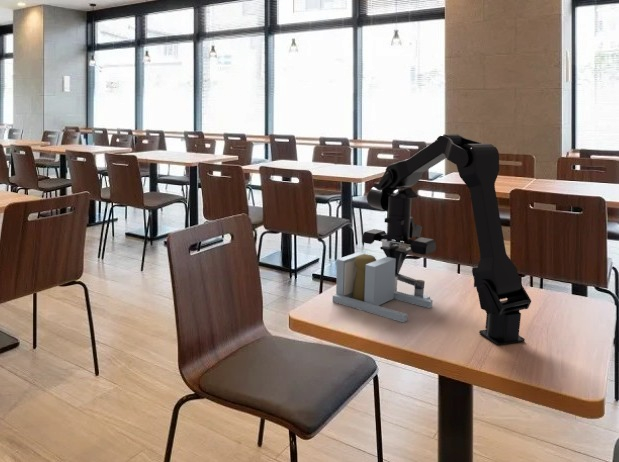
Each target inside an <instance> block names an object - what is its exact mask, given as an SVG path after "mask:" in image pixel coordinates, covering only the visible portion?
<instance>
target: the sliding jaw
mask: <svg viewBox="0 0 619 462" xmlns="http://www.w3.org/2000/svg"><path fill="white" fill-rule="evenodd" d="M395 264H396V259H395V258H390V257H387V256H385V257H383V258H380V259H376V261H374V262H371V263H369V264H366V267H365V295H364V302H367V303H370V304H374V305H377V306H382V305H383V304H385V303H387V302H389V301H392V300H395V299H394V285H395Z"/></svg>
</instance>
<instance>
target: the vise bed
mask: <svg viewBox="0 0 619 462" xmlns="http://www.w3.org/2000/svg"><path fill="white" fill-rule="evenodd" d="M359 255H366V253H365V252H361V251H357V252H355V253H352V254H348V255H346V256H343V257H340V258H337V259H336V280H335V281H336V283H335V284H336V287H335V288H336V289H335V294H332V302H333V303H337V304H340V305H344V306H346V307H350V308H353V309H357V310H359V311H364V312H365V313H366V312H367V313H371V314H373V315H376V316H380V317H383V318H387V319H389V320H393V321H397V322H400V323H405V322H407V321H408V313H406V312H405V313H404V312H401V311H398V310H396V309H395V310H394V309H391V308H387V307H383V306H382V305H379V306H377V305H374V304H370V303H367V302H363V301H360V300H356V299H353V298H352V295H353V289H354V283H355V277H356V271H357V268H356V266H355V259H356V257H357V256H359ZM413 290H414V293H412V294H409V293H406V292H401V291H398V280H397V277H395V285H394V299H393V300H398V301H401V302H405V303H408V304H412V305H415V306H420V307H422V308H428V309H431V308H432V307H433V300H432V299H431V295H426V294H424V290H425V287H424V288H423V289H417V288H415V287H414V289H413Z"/></svg>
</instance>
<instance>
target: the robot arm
mask: <svg viewBox="0 0 619 462" xmlns="http://www.w3.org/2000/svg"><path fill="white" fill-rule="evenodd" d="M444 160H447V161H449V162H451V163H453V164H454V165H456V169H457V172H458V175H459V177H460V179H461V180H462V182H464V184H465V186H467V187H468V190H469V194H470V201H471V207H472V212H473V218H474V224H475V230H476V236H477V242H478V243H477V244H478V249H479V254H480V256H479V257H480V258H479V262H478V265H477V266H476V265H475V266H473V267H472V268H471V274H472V277H473V288H475V289H476V292H477V294H478V301H479V306H480V309H481V310H482V311H483V310H484V311H485V313H486V317H485V329H480V330H478V331H479V334H480V335H482V336H483V337H485V338H487V340H489V341H491V342H492V343H494V344H495V345H496V346H497V345H498V346H503V345H508V344H509V345H510V344H516V343H524V342H525V341H526V338H524V337H522V336H521V335H520V327H521V326H520V325H521V318H522V313H521V312H520V311H522V310H528V309H529V308H530V306H531V303H532V299H531V297H530V296H529V295H528V292H527V291H526V289H525V288H524V286H523V284H522V283H521V278H520V274H519V272H518V269H517V266H516V264H515V263H514V262H513V261H512V260H511V258H510V257H509V255H507V252H506V246H505V244H506V243H505V241H504V240H505V239H504V233H503V227H502V222H501V215H500V210H499V204H498V199H497V198H498V197H497V193H496V192H497V191H496V185H495V184H496V181H497V178H498V176H499V173H500V154H499V150H498V148H497V147H496V146H494V144H491V143H488V142H487V143H485V142H484V143H482V142H480V141H477V140H472V139H469V138H466V137H464V136H462V135H460V134H459V133H450V134H448V133H446V134H445V133H444V134H441V135H439V136H438V137H437V138H436V139H435V140H434V141H433V142H430V143H429V144H428V145H426V147H424V148H423V149H420V150H419V151H418V152H416V153H415V154H414V155H412V156H411V157H410V158H408V159H404V160H400V161H396V162H393V163H390V164H389V165H387V167H386V168H385V172H384V173H383V175H382V177H381V179H380V181H379V182H374V183H373V187H372V188H370V189H369V192H368V193H367V196H366V200H367V203H368V206H370V207H371V208H375V209H378V210H381V211H386V212H387V217H385V218H384V223H387V225H386V226H387V227H386V231H385V230H381V229H375V228H373V229H370V230H367V231H364V232H363V233H362V235H361V243H364V244H367V245H372V244H373V243H374V242H375V241H377V242H381V246H380V247H379V248H380V250H381V251H383V253H384V254H385V257H390V258H395V259H396V264H395V273H398V274H400V271H401V269H402V268H403V264H404V262H405V259H406V257H407V256H408V255H409V253H410V252H413V253H414V254H419V255H428V254H431V253H432V252H435V251H437V243H436V241H435V239H433V238H429V237H422V236H421V233H422V229H423V226H421V225H419V224H417V223H414V221H415V219H414V217H413V216H412V213H411V212H412V199H418V194H417V193H416V192H415V191H414V190H413V188H412V187H413V186H414V185H417V183H418V181H420V180H421V179H422V176H423V174H424V173H425V172H426V171H428V170H430V169H431V168H433V167H434V166H436V165H437V164H439V163H441V162H443V161H444ZM413 238H416V239H413Z"/></svg>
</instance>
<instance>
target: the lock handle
mask: <svg viewBox="0 0 619 462" xmlns="http://www.w3.org/2000/svg"><path fill="white" fill-rule="evenodd" d="M395 277H397V281H399V282H402V283H405V284H408V285H411V286H414V289H415V288H417V289H423V288H424V289H425V280H422V279H416V278H413V277H411V276H410V277H409V276H407V275H404V274H400V273H395Z"/></svg>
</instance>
